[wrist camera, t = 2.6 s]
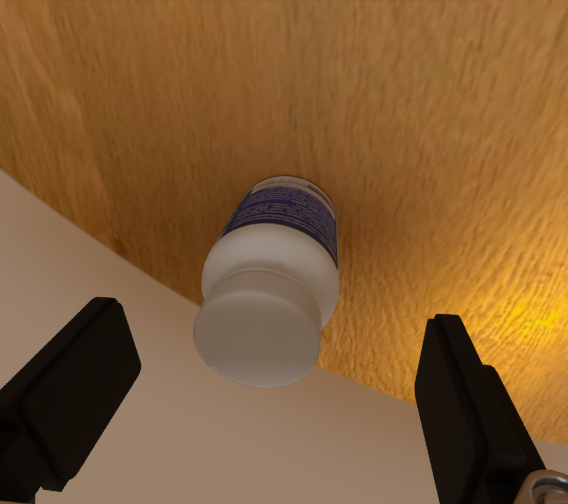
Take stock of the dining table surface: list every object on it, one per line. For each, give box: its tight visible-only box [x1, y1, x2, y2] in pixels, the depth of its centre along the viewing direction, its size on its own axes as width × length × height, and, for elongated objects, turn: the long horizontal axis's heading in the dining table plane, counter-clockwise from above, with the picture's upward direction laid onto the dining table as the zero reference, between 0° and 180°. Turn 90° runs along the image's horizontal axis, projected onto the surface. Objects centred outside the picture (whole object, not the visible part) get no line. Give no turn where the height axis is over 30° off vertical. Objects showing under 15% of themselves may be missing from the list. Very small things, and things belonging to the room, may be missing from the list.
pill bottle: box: [193, 176, 339, 388], centre depth 15 cm, size 5×5×9 cm
